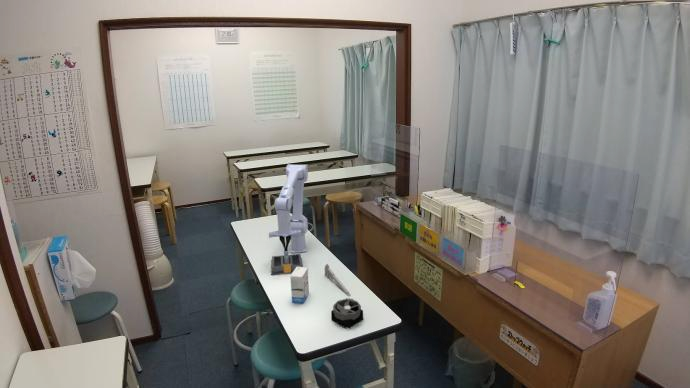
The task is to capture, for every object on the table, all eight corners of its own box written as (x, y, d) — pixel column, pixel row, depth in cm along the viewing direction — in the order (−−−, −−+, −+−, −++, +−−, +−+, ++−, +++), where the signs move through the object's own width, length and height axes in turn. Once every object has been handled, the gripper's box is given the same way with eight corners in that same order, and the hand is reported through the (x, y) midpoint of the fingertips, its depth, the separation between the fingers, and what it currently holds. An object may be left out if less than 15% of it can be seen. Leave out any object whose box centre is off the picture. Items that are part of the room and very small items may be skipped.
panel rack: (271, 261, 192) (270, 252, 190) (301, 258, 194) (301, 250, 193) (271, 275, 179) (270, 266, 177) (303, 272, 181) (303, 263, 180)
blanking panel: (284, 261, 190) (283, 250, 188) (288, 261, 190) (288, 249, 189) (285, 269, 183) (284, 257, 181) (289, 268, 183) (288, 257, 181)
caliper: (324, 275, 178) (324, 263, 176) (326, 275, 179) (326, 262, 177) (348, 297, 161) (348, 283, 159) (350, 296, 161) (350, 282, 160)
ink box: (303, 303, 156) (302, 277, 153) (291, 302, 157) (289, 276, 154) (309, 292, 164) (308, 266, 161) (298, 291, 165) (296, 265, 162)
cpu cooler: (347, 317, 138) (327, 306, 145) (347, 331, 139) (327, 319, 146) (366, 305, 145) (347, 295, 152) (366, 318, 146) (347, 308, 153)
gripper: (267, 227, 175) (270, 255, 179) (300, 224, 177) (302, 252, 181) (268, 221, 182) (270, 248, 186) (299, 219, 184) (301, 246, 188)
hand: (286, 250), depth 184 cm, fingers closed
